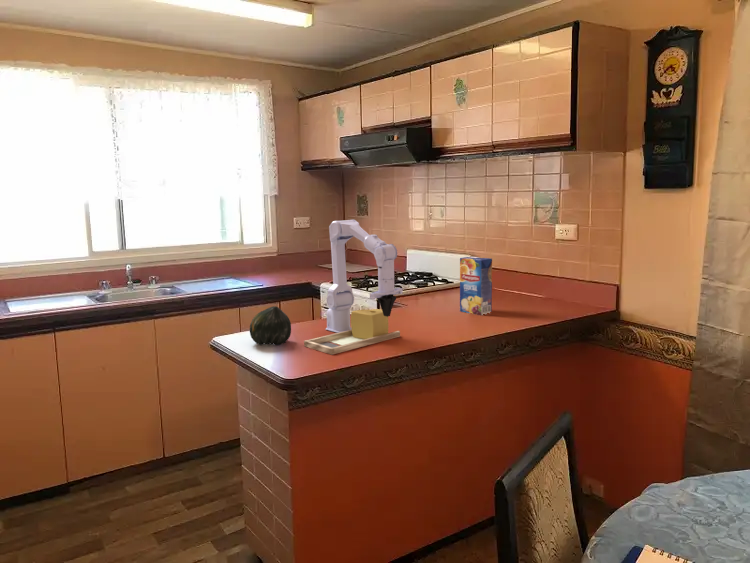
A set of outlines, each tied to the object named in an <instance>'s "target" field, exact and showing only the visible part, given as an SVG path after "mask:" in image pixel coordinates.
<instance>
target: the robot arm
mask: <svg viewBox="0 0 750 563" xmlns="http://www.w3.org/2000/svg"><path fill="white" fill-rule="evenodd" d="M328 230H329V232H328V233H329V241H330V248H331V249H330V251H331V252H330V253H331V266H332V283H333V284H332V285H331V286H330V287H329V288H328V289H327V297H326V303H327V306H328V309H327V311H326V328H325V331H326V330H327V331H329V332H334V333H339V332H343V331H348V330H352V328H351V308H352V306H353V304H354V302H355V295H354V293H353V288H352V287H351V286H350V285H349V284H348V282H347V280H348V278H347V262H346V247H345V246H346V243H347V242H348V241H349V240H350V239H352V238H355V239H357V240H359V241H361V242H362V243H363V246H364V248H365V249H366V250H368V251H369V252H370V253H371V254H373V256H374V259H375V262H376V263H375V264H376V266H377V276H378V277H377V279H378V280H377V281H378V283H377V284H378V285H377V286H378V287H377V288H378V290H376V291H372V292H369V299H370V300H377V301H378V303H379V305H380V309H381V310H382V311H383V315H384V316H387V317H388V318H389V317H391V314H392V313H391V312H392V309H393V306H394V303H395V302H396V301H397V296H396V295H402V294H403V292H404V290H403V288H402V287H396V288H395V260H396V259H397V257H398V250H397V247H396V246H395V245H394V244H393V243H389V244H388V243H386V241H385V240H382V239H381V238H379V236H378V235H377V234H369V233H368V232H367V231H366V230H365V229H364V228H362V227H361V225H360V222H359V221H357V220H356V219H352V218H351V219H347V220H333V221H332V222H331V223H330V224H329V226H328Z"/></svg>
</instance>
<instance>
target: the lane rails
mask: <svg viewBox="0 0 750 563" xmlns="http://www.w3.org/2000/svg"><path fill="white" fill-rule="evenodd" d="M352 335H353V334H352V330H348V331H343V332H339V333H337V332H334V333H331V334H328V335H322V336H320V337H319V336H318V337H315V338H310V339H306V340H303V346H304V347H306V348H309V349H312V350H315V351H319V352H321V353H325V354H329V355H335V354H336V355H337V354H339V353H343V352H347V351H351V350H355V349H358V348H359V349H360V348H361V347H362V348H363V347H366V346H370V345H373V344H377V343H380V342H385V341H388V340H392V339H396V338H400V337H401V331H400V330H396V331H392V332H388V333H387V334H384V335H380V336H376V337H372V338H368V339H364V340H360V341H356V342H352V343H349V344H345V345H339V346H337V347H333V348H331V347H328V346H325V345H321V344H319V343H324V342H329V341H332V340H336V339H340V338H344V337H348V336H352Z"/></svg>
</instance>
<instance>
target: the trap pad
mask: <svg viewBox="0 0 750 563" xmlns="http://www.w3.org/2000/svg"><path fill="white" fill-rule="evenodd" d="M319 344H321V345H325V346H328V347H331V348H333V347H337V346H340V345H339V344H335V343H332V342H329V341H328V342H324V343H319Z"/></svg>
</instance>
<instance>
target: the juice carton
mask: <svg viewBox="0 0 750 563" xmlns="http://www.w3.org/2000/svg"><path fill="white" fill-rule="evenodd" d="M492 283H493V258H489V257H488V258H487V257H479V256H465V257H460V259H459V312H460V311H461V312H462V313H465V312H466V314H470V313H472V314H471V315H476V314H477V315H476V316H484V315H483V314H485V315H488V314H487V313H489V314H491V313H490V312H492V310H493V309H492V305H493V304H492V302H493V301H492V299H493V298H492V297H493V289H492V288H493V284H492Z"/></svg>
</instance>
